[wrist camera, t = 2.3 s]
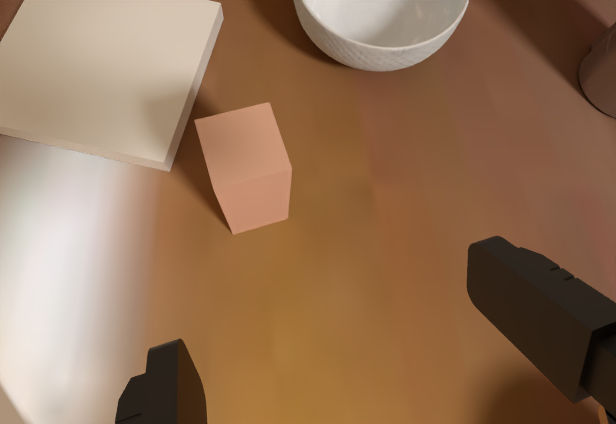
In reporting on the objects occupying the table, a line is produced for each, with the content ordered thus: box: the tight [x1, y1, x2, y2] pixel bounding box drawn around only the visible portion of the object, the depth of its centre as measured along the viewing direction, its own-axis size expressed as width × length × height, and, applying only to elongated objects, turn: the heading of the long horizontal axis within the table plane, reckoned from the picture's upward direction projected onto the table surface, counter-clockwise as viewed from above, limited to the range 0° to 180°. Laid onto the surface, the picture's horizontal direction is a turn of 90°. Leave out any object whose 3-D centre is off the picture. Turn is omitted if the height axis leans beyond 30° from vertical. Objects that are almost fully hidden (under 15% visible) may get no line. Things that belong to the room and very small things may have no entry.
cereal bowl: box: [294, 0, 469, 72], centre depth 39 cm, size 17×17×7 cm
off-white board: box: [0, 0, 223, 172], centre depth 37 cm, size 18×18×2 cm
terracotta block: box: [194, 102, 292, 235], centre depth 30 cm, size 5×5×11 cm
